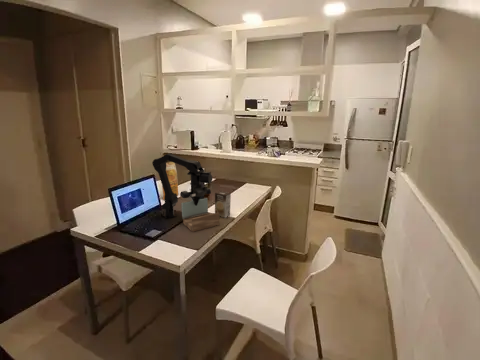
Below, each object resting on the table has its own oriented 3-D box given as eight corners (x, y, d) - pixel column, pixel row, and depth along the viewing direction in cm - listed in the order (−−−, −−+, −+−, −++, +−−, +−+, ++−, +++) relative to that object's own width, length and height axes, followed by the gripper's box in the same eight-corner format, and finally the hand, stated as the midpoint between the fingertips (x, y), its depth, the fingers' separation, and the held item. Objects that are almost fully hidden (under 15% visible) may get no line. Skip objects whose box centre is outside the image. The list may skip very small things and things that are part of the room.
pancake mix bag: (157, 199, 211) (155, 164, 203) (175, 193, 226) (174, 160, 218) (163, 201, 207) (161, 165, 200) (181, 194, 223) (180, 161, 215)
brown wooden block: (183, 223, 170) (182, 211, 168) (208, 217, 180) (208, 206, 178) (192, 231, 159) (192, 219, 157) (219, 224, 169) (219, 213, 167)
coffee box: (214, 215, 184) (214, 192, 180) (219, 212, 189) (219, 190, 185) (225, 218, 179) (225, 195, 175) (230, 215, 185) (231, 192, 180)
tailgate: (181, 217, 171) (180, 202, 169) (206, 212, 181) (205, 197, 179) (183, 218, 169) (182, 203, 167) (208, 213, 179) (207, 198, 177)
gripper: (186, 187, 156) (187, 212, 160) (215, 182, 166) (215, 206, 170) (179, 182, 165) (180, 206, 169) (206, 178, 175) (207, 201, 179)
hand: (196, 205), depth 172 cm, fingers closed, pressing on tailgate
